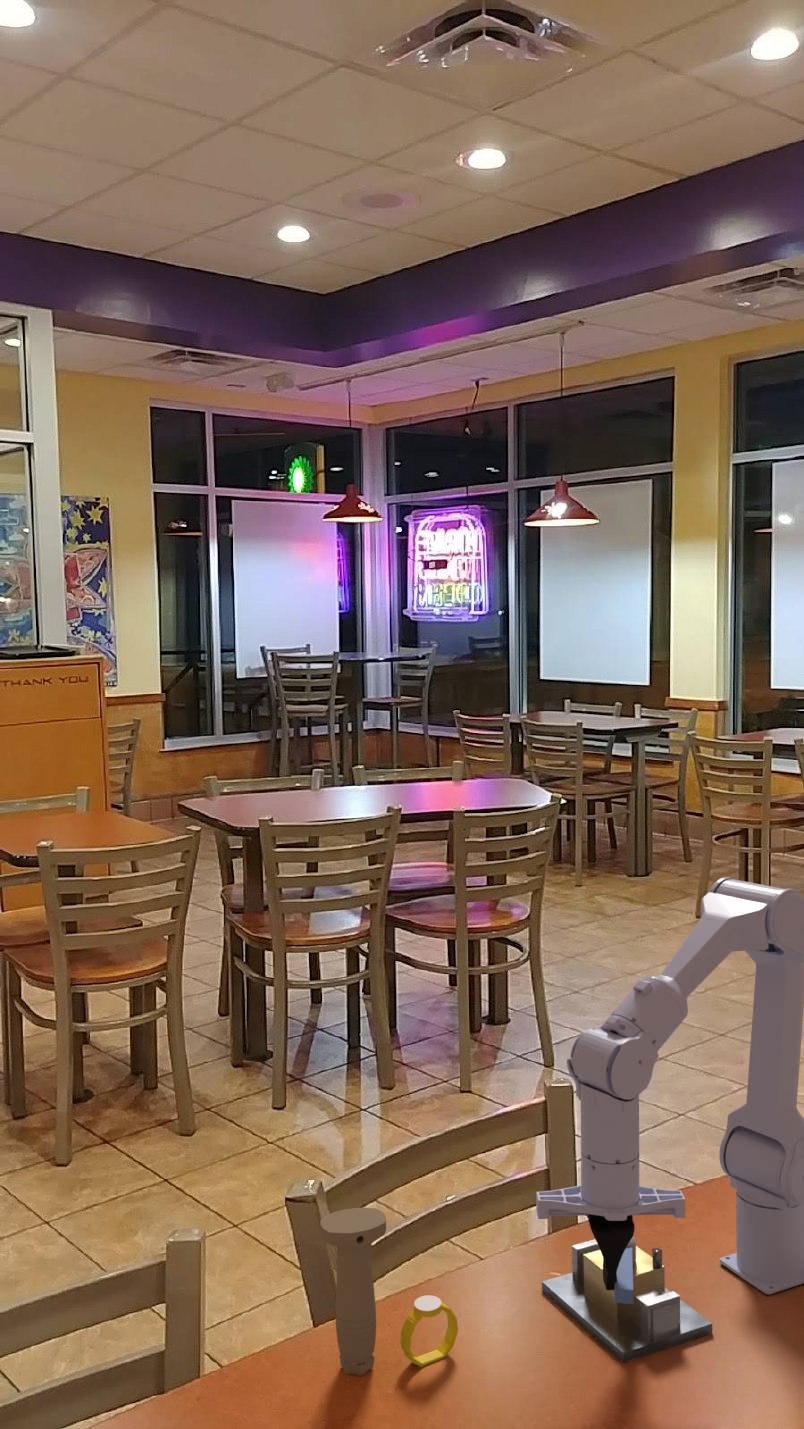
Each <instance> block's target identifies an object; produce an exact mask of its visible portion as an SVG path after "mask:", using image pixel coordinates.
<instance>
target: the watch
mask: <svg viewBox="0 0 804 1429" xmlns="http://www.w3.org/2000/svg"><path fill="white" fill-rule="evenodd" d="M413 1307H414V1308H413V1309H412V1311H411V1312H410V1313H409V1314H408V1315H407V1317H406V1318H405V1321H404V1323H403V1325H402V1328H401V1331H400V1347H401V1349H402V1351H403V1354H404V1356H405V1357H406V1359H408V1360H409V1361H410V1362H412V1363H413V1364H414V1365H416V1366H418V1367H419V1368H425V1366H427V1365H429V1364H432V1363H435V1362H437V1361H439V1360H442V1359H445V1358H446V1357H447V1356H448V1354H449V1353H450V1352H451V1350H452V1349H453V1347H454V1345H455V1343H456V1339H457V1336H458V1331H459V1329H458V1319H457V1316H456V1314H455V1313H454V1312H453V1310H452V1309H451V1308H450V1307H449V1306H447V1305H446V1304H445V1303H444V1302H442V1300H441V1299H440V1297H438V1296H436V1295H429V1294H428V1295H422V1296H419V1297H417V1298H416V1299H415V1300H414V1303H413ZM442 1311H444V1312H445V1314H446V1317H447V1318H446V1319H447V1328H446V1332H445V1336H444V1339H443V1340H442V1341H441V1343H440V1344H439V1345H438V1347H437V1349H434V1350H432V1351H428V1352H427V1353H424V1354H421V1355H418V1356H414V1354H413V1352H412V1350H411V1343H412V1342H411V1340H412V1335H413V1332H414V1330H415V1328H416V1325H417V1324H418V1323H419V1321H420V1320H421V1319H422V1318H431V1317H436V1316H438V1315H439V1314H440V1313H442Z"/></svg>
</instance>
